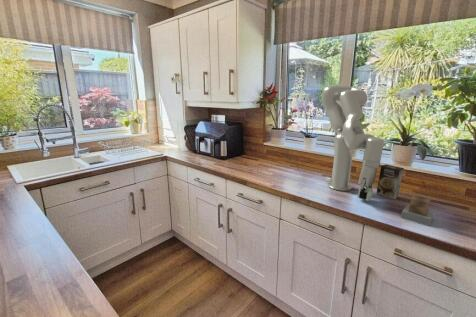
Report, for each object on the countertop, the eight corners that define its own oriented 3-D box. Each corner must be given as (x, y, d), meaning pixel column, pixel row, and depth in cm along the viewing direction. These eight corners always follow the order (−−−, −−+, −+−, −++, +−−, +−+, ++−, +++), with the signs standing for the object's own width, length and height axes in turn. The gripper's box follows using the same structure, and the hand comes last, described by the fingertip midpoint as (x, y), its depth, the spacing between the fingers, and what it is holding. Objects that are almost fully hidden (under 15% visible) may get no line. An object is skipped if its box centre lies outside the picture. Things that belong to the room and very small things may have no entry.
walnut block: (408, 211, 110) (411, 198, 109) (411, 207, 114) (414, 194, 113) (425, 216, 106) (428, 202, 105) (427, 211, 110) (430, 198, 109)
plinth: (400, 217, 111) (402, 211, 110) (406, 210, 118) (407, 204, 117) (428, 225, 104) (430, 219, 103) (433, 218, 111) (434, 211, 110)
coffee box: (375, 194, 137) (380, 165, 133) (380, 191, 141) (385, 163, 137) (394, 199, 130) (399, 169, 126) (398, 196, 134) (404, 167, 130)
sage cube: (357, 197, 128) (359, 188, 127) (361, 194, 132) (362, 185, 130) (367, 200, 125) (369, 191, 123) (371, 197, 128) (373, 188, 127)
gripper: (369, 158, 131) (363, 190, 136) (356, 164, 120) (350, 199, 125) (385, 161, 126) (378, 194, 131) (373, 168, 115) (366, 204, 120)
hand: (364, 196), depth 128 cm, fingers closed on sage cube, 5 cm apart
